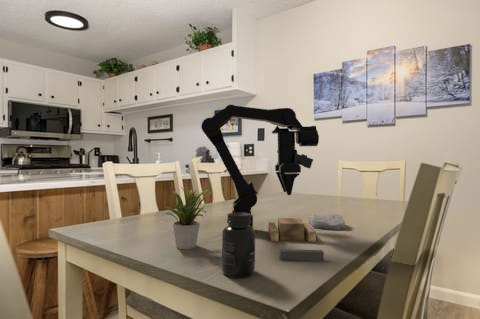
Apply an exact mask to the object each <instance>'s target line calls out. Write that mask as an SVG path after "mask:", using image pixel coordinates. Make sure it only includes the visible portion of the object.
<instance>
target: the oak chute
mask: <svg viewBox="0 0 480 319" xmlns="http://www.w3.org/2000/svg"><path fill="white" fill-rule="evenodd" d="M303 223H304V239H305V240H306V241H307V242H308V243H316V241H317V240H316V238H317V236H316V235H317V234H316V233H317V232H316V230H315V228H312V226H311V225H310V224H309V222H303ZM267 225H268V226H267V227H268V228H267V229H268V231H267V232H268V235H269V238H270V241H271V242H276V243H277V242H279V231H278V225H277V224H276V222H274V221H268V224H267Z"/></svg>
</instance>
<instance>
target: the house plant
mask: <svg viewBox="0 0 480 319" xmlns="http://www.w3.org/2000/svg"><path fill="white" fill-rule="evenodd" d="M180 188H181V189H182V191H183V192H184V197H185V204H184V202H183V200H182V197H181V196H180V195H179V194H178V193H177V192H176V191H174V190H172V192H173V194H174V196H175V198H176V203H174V204H175V206H176V207H175V209H174V208H171V207H168V206H167V207H165V208H166V209H168V210H169V211H170V212H172V213H170V212H166V213H164V215H168V216H169V215H170V216H172V217H174V218H175V220H176V221H175V222H172V227H173V234H174V241H175V248H177V249H178V250H179V249H180V250H191V249H195V248H196V247H197V242H198V236H199V229H200V224H201V222H200V221H197V220H196V218H197V217H199V216H200V217H203V218H205V216H204V214H207V211H206V210H204V209H205V208H206V207H207V206H209V204H207V205H203V206H201V205H202V202H203V201H204V200H205V199H206V198H207V197H211V196H212V195H208V194H210V192H208V191H209V189H206V190H203V191H201V192H200V193H196V192H197V190H195V191H194V192H193V190H192V189H191V190H189V194H188V193H187V192H186V189H185V188H184V187H183V186H180ZM206 192H207V193H206ZM204 193H205V194H204ZM199 206H201V208H199ZM197 210H198V211H197ZM200 212H203V213H204V214H201V213H200ZM173 213H174V214H175V215H176V216H177V217H176V216H175V215H174V214H173ZM178 219H179V220H178Z"/></svg>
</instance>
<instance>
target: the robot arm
mask: <svg viewBox="0 0 480 319" xmlns="http://www.w3.org/2000/svg"><path fill="white" fill-rule="evenodd" d="M232 119H241V120H249V121H250V120H251V121H257V122H258V121H259V122H266V123H269V124H271V125H274V126H275V128H274V129H273V130H272V131H271V134H275V135H276V134H277V151H276V152H277V163H276V164H275V165H274V170H275V173H276V175H277V176H276V177H277V178H278V181H279V183H280V186H281V188H282V190H283V193H286V195H287V196H291V195H292V192H293V187H294V182H295V179H296V178H298V176H300V173H302V167H304V168H307V169H311V168H312V165H313V161H314V158H311V157H308V155H307V154H303V153H302V154H298V150H297V149H296V144H297V145H298V146H299V147H317V146H318V144H319V142H320V141H319V140H320V135H319V132H318V129H317V125H311V126H303V125H302V124H301V122H300V121H299V119H298V118H297V114H296V111H295V110H294V109H293V108H289V107H282V108H273V109H270V108H269V109H266V108H257V107H248V106H240V105H234V104H228V105H227V106H225V107H224V108H223V109H222V110H221V111H219V112H217V113H216V114H214V115H213V116H212V117H207V118H205V119H203V120H202V122H201V131H202V132H203V134H204V135H206V137H207V138H208V140H209V141H210V142H211V144H212V145H213V146H214V148H215V149H216V152H217V153H218V155H219V158H220V160H221V161H222V162H223V165H224V167H225V168H226V171H227V172H228V174H229V177H230V178H231V180H232V182H233V184H234V187H235V190H236V193H237V196H238V197H237V198H236V199H235V200H234V201H233V202H232V208H233V209H232V211H231V213H234V212H243V213H249V214H251V223H250V226H251V227H252V228H253V227H254V215H253V214H252V208H253V207H255V205H256V204H257V202H258V196H257V194H258V193H259V192H258V191H257V190H256V189H255V188H254V184H253V182H252V180H249V181H248V182H247V181H246V179H245V178H244V176H243V174H242V172H241V171H240V169H239V167H238V165H237V163H236V161H235V159H234V157H233V155H232V153H231V151H230V149H229V147H228V146H227V144H226V142H225V139H224V136H223V133H222V129H221V128H222V127H224V126H225V125H226V124H228V122H230V120H232ZM280 127H281V128H280ZM253 229H254V228H253Z"/></svg>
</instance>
